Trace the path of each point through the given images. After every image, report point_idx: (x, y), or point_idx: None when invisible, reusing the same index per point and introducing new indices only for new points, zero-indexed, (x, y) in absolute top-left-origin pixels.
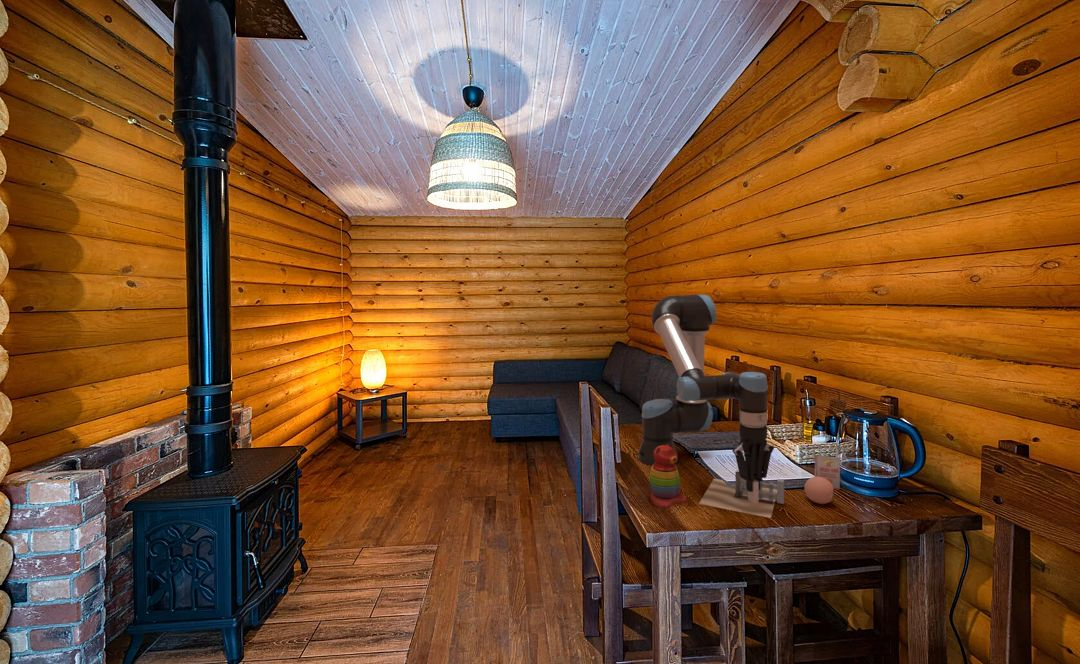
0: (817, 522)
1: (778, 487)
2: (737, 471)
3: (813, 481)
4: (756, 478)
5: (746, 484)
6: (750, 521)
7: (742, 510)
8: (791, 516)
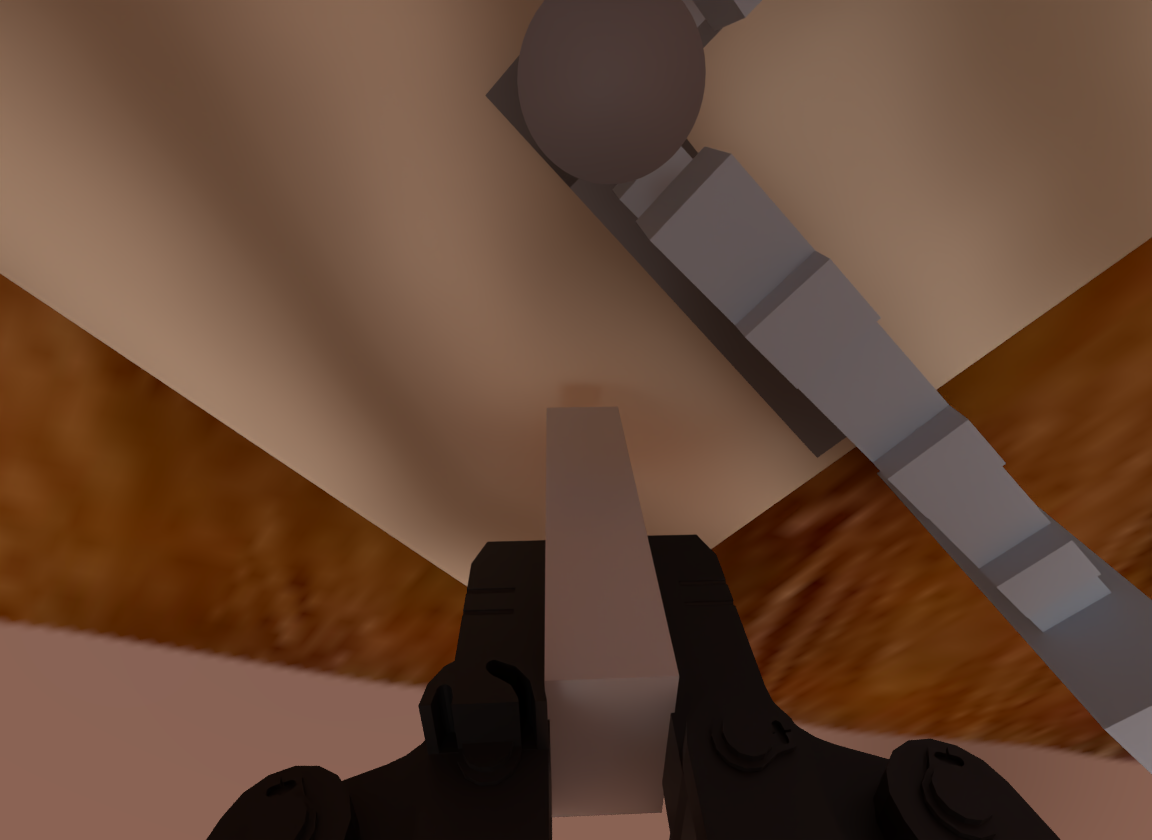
0: (869, 723)
1: (1023, 633)
2: (657, 11)
3: None
4: (671, 834)
5: (458, 640)
6: (368, 616)
7: (382, 484)
8: (783, 628)
